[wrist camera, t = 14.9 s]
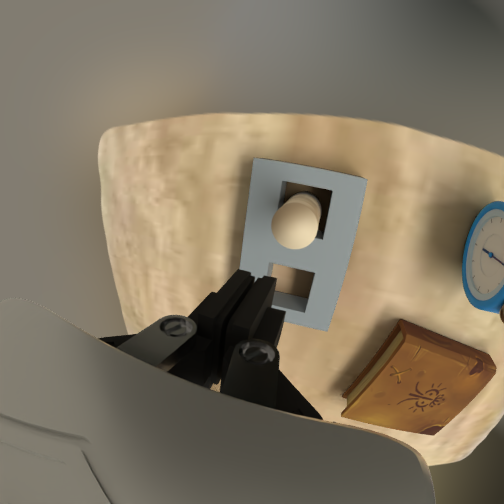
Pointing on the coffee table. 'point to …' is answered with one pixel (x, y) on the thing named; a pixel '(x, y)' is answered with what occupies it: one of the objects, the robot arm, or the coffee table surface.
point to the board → (315, 254)
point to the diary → (417, 381)
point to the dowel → (297, 220)
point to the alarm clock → (485, 260)
